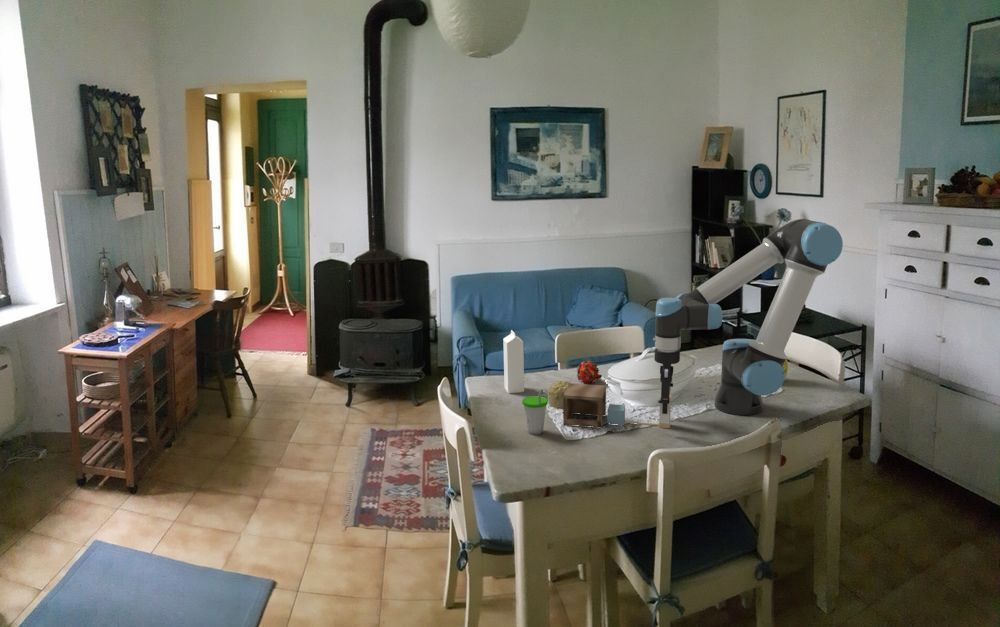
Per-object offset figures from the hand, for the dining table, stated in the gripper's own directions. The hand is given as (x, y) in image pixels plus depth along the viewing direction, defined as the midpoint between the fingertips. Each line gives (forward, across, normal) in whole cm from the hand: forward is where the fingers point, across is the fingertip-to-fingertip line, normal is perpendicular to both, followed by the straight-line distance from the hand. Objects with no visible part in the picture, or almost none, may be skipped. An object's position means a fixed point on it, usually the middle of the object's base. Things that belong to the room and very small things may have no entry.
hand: (665, 414), depth 216 cm
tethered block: (+4, 0, -8) cm, 9 cm away
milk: (+4, -23, -54) cm, 59 cm away
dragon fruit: (+4, -37, -29) cm, 47 cm away
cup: (+4, +13, -38) cm, 41 cm away
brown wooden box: (+4, 0, -25) cm, 25 cm away
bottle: (+4, -50, +36) cm, 62 cm away
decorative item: (+4, -13, -35) cm, 38 cm away
